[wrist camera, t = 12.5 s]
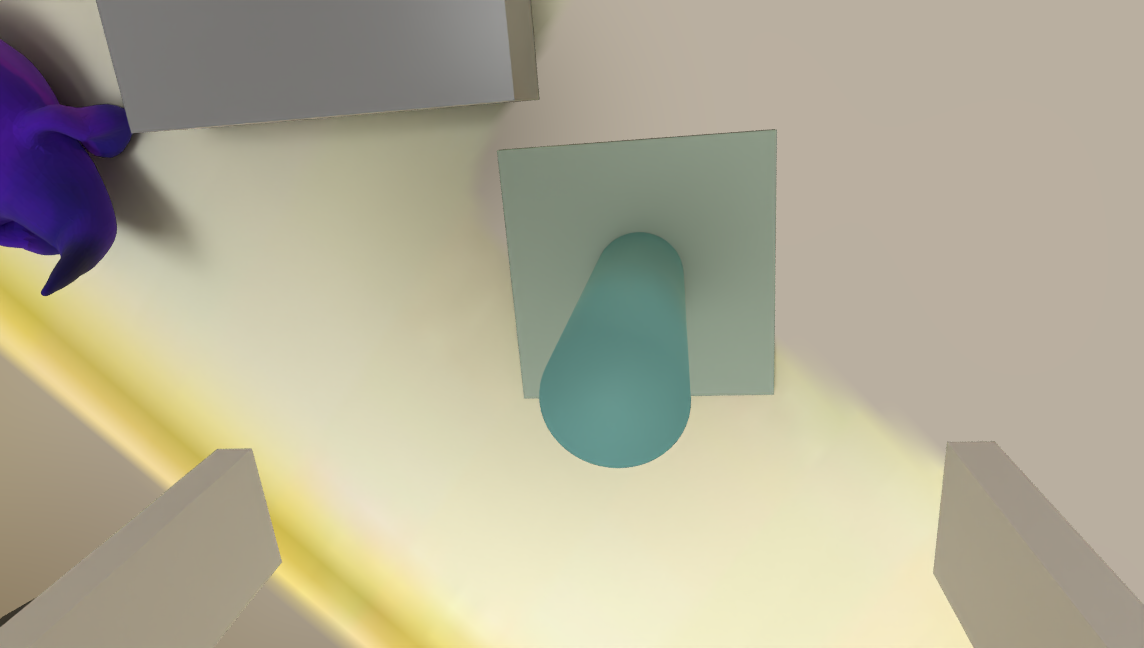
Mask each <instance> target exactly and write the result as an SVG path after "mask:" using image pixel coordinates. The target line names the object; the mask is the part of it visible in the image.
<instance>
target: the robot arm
mask: <svg viewBox="0 0 1144 648" xmlns="http://www.w3.org/2000/svg"><path fill="white" fill-rule="evenodd" d="M281 562H282V561H281V557H280V553H279V549H278V546H277V542H276V538H275V534H274V530H273V527H272V523H271V519H270V515H269V511H268V508H267V504H266V500H265V496H264V492H263V489H262V485H261V481H260V477H259V474H258V470H257V466H256V462H255V458H254V455H253V451H252V449H217V450H215V451H214V452H213V453H212V454H211V455H209V456H208V457H207V458H206V459H204V460H203V461H202V462H201V463H200V464H198V465H197V466H196V467H195V468H194V469H192V470H191V471H190V472H189V473H187V474H186V475H185V476H184V477H183V478H181V479H180V480H179V481H178V482H176V483H175V484H174V485H173V486H172V487H170V488H169V489H168V490H167V491H166V492H164V493H163V494H162V495H161V496H159V497H158V498H157V499H156V500H155V501H153V502H152V503H151V504H150V505H148V506H147V507H146V508H145V509H144V510H142V511H141V512H140V513H139V514H138V515H136V516H135V517H134V518H133V519H131V520H130V521H129V522H128V523H127V524H125V525H124V526H123V527H122V528H121V529H119V530H118V531H117V532H116V533H114V535H112V536H111V537H110V538H108V539H107V540H106V541H105V542H103V544H101V545H100V546H99V547H98V548H96V549H95V550H94V551H93V552H91V553H90V554H89V555H88V556H86V557H85V558H84V559H83V560H82V561H80V562H79V563H78V564H77V565H76V566H74V567H73V568H72V569H71V570H69V571H68V572H67V573H66V574H65V575H64V576H62V577H61V578H60V579H58V580H57V581H56V582H55V583H54V584H52V585H51V586H50V587H49V588H47V589H46V590H45V591H44V592H43V593H41V594H40V595H39V596H38V597H36V598H35V599H33V600H31V601H29V602H28V603H26V604H24V605H22V606H21V607H19V608H17V609H16V610H14V611H12V612H10V613H8V614H7V615H5V616H3V617H2V618H1V619H0V648H214V647H215V645H216V644H217V642H219V640H220V639H221V638H222V636H223V635H224V634H225V633H226V632H227V630H228V629H229V628H230V626H231V625H232V624H233V623H234V621H235V620H236V619H237V618H238V616H239V615H240V614H241V613H242V611H243V610H244V609H245V607H246V606H247V605H248V604H249V603H250V601H251V600H252V599H253V598H254V596H255V595H256V594H257V593H258V591H259V590H260V589H261V588H262V586H263V585H264V584H265V583H266V581H267V580H268V579H269V578H270V576H271V575H272V574H273V573H274V571H275V570H276V569H277V568H278V566H279V565H280V564H281ZM933 574H934V575H935V577H936V579H937V581H938V583H939V585H940V586H941V588H942V590H943V592H944V594H945V596H946V598H947V599H948V601H949V603H950V605H951V607H952V609H953V610H954V612H955V614H956V616H957V618H958V620H959V621H960V623H961V625H962V627H963V629H964V631H965V632H966V634H967V636H968V638H969V640H970V642H971V643H972V645H973V647H974V648H1144V604H1143V603H1142V602H1141V601H1140V600H1139V599H1138V598H1137V597H1136V596H1135V594H1134V593H1133V592H1132V591H1131V590H1130V589H1129V588H1128V587H1127V586H1126V585H1125V583H1123V581H1122V580H1121V579H1120V578H1119V577H1118V576H1117V575H1116V574H1115V573H1114V571H1113V570H1112V569H1111V568H1110V567H1109V566H1108V565H1107V564H1106V563H1105V562H1104V560H1103V559H1102V558H1101V557H1100V556H1099V555H1098V554H1097V553H1096V552H1095V551H1094V549H1093V548H1092V547H1091V546H1090V545H1089V544H1088V543H1087V542H1086V541H1085V540H1084V539H1083V537H1082V536H1081V535H1080V534H1079V533H1078V532H1077V531H1076V530H1075V529H1074V528H1073V527H1072V525H1071V524H1070V523H1069V522H1068V521H1067V520H1066V519H1065V518H1064V517H1063V516H1062V515H1061V513H1060V512H1059V511H1058V510H1057V509H1056V508H1055V507H1054V506H1053V505H1052V504H1051V503H1050V502H1049V500H1048V499H1047V498H1046V497H1045V496H1044V495H1043V494H1042V493H1041V492H1040V490H1039V489H1038V488H1037V487H1036V486H1035V485H1034V484H1033V483H1032V482H1031V481H1030V480H1029V478H1028V477H1027V476H1026V475H1025V474H1024V473H1023V472H1022V471H1021V470H1020V469H1019V468H1018V466H1017V465H1016V464H1015V463H1014V462H1013V461H1012V460H1011V459H1010V458H1009V456H1008V455H1007V454H1006V453H1005V452H1004V451H1003V450H1002V449H1001V448H1000V447H999V446H998V444H996V442H994V441H990V442H989V441H988V442H987V441H980V442H947V447H946V456H945V466H944V475H943V485H942V494H941V503H940V513H939V522H938V531H937V541H936V550H935V560H934V569H933Z"/></svg>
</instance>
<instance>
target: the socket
mask: <svg viewBox="0 0 1144 648" xmlns="http://www.w3.org/2000/svg"><path fill="white" fill-rule="evenodd" d="M96 3H97V6H98V10H99V14H100V18H101V21H102V25H103V29H104V33H105V36H106V40H107V44H108V48H109V51H110V55H111V59H112V63H113V66H114V70H115V74H116V78H117V81H118V85H119V89H120V93H121V96H122V100H123V104H124V108H125V111H126V115H127V119H128V123H129V126H130V130H131V133H143V132H157V131H171V130H186V129H200V128H213V127H225V126H237V125H248V124H260V123H272V122H283V121H295V120H307V119H318V118H330V117H342V116H354V115H365V114H377V113H389V112H400V111H412V110H424V109H435V108H447V107H459V106H470V105H482V104H494V103H505V102H517V101H528V100H539V89H538V78H537V67H536V55H535V44H534V33H533V22H532V11H531V0H96Z"/></svg>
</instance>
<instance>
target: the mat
mask: <svg viewBox="0 0 1144 648" xmlns="http://www.w3.org/2000/svg"><path fill="white" fill-rule="evenodd" d="M776 145H777V130H775V129H772V130H759V131H745V132H733V133H732V132H731V133H718V134H704V135H692V136H678V137H665V138H651V139H638V140H624V141H611V142H597V143H584V144H571V145H558V146H544V147H530V148H517V149H503V150H498V151H497V154H498V164H499V173H500V182H501V190H502V200H503V209H504V218H505V227H506V236H507V245H508V255H509V264H510V273H511V282H512V291H513V300H514V309H515V318H516V327H517V336H518V345H519V354H520V363H521V373H522V382H523V391H524V398H539V390H540V382H541V378H542V375H543V372H544V370H545V367H546V365H547V363H548V361H549V359H550V357H551V355H552V353H553V351H554V349H555V347H556V345H557V343H558V341H559V339H560V337H561V335H562V333H563V331H564V329H565V327H566V325H567V322H568V320H569V318H570V316H571V314H572V312H573V310H574V308H575V306H576V304H577V302H578V300H579V298H580V296H581V294H582V292H583V290H584V288H585V286H586V284H587V282H588V280H589V278H590V276H591V274H592V272H593V270H594V268H595V266H596V263H597V261H598V259H599V257H600V255H601V254H602V252H603V251H604V249H605V248H606V247H607V246H608V245H609V244H610V243H611V242H612V241H614V240H615V239H617V238H618V237H620V236H623V235H625V234H629V233H635V232H645V233H650V234H654V235H656V236H659V237H661V238H663V239H664V240H666V241H667V242H668V243H669V244H670V245H671V246H672V247H673V248H674V249H675V250H676V252H677V253H678V255H679V257H680V259H681V262H682V265H683V271H684V287H685V304H686V322H687V339H688V357H689V375H690V392H691V396H714V395H774V334H775V243H776V153H777V151H776V150H777V149H776V148H777V147H776Z"/></svg>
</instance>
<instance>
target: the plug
mask: <svg viewBox="0 0 1144 648" xmlns="http://www.w3.org/2000/svg"><path fill="white" fill-rule="evenodd" d="M539 401H540V407H541V412H542V415H543V418H544V421H545V423H546V425H547V427H548V429H549V430H550V432H551V434H552V435H553V436H554V438H555V439H556V440H557V441H558V442H559V443H560V444H561V445H562V446H563V447H564V448H565V449H566V450H568V451H569V452H570V453H572V454H573V455H575V456H576V457H578V458H580V459H582V460H584V461H586V462H589V463H592V464H595V465H598V466H603V467H609V468H627V467H633V466H638V465H641V464H645V463H647V462H650V461H652V460H654V459H656V458H658V457H659V456H661V455H662V454H664V453H665V452H666V451H667V450H669V449H670V448H671V447H672V446H673V445H674V444H675V443H676V442H677V440H678V439H679V437H680V436H681V434H682V433H683V431H684V429H685V427H686V424H687V421H688V418H689V414H690V408H691V392H690V375H689V357H688V339H687V322H686V304H685V287H684V271H683V265H682V262H681V259H680V257H679V255H678V253H677V252H676V250H675V249H674V248H673V247H672V246H671V245H670V244H669V243H668V242H667V241H666V240H664V239H663V238H661V237H659V236H656V235H654V234H650V233H645V232H635V233H629V234H625V235H623V236H620V237H618V238H617V239H615V240H614V241H612V242H611V243H610V244H609V245H608V246H607V247H606V248H605V249H604V251H603V252H602V254H601V255H600V257H599V259H598V261H597V263H596V266H595V268H594V270H593V272H592V274H591V276H590V278H589V280H588V282H587V284H586V286H585V288H584V290H583V292H582V294H581V296H580V298H579V300H578V302H577V304H576V306H575V308H574V310H573V312H572V314H571V316H570V318H569V320H568V322H567V325H566V327H565V329H564V331H563V333H562V335H561V337H560V339H559V341H558V343H557V345H556V347H555V349H554V351H553V353H552V355H551V357H550V359H549V361H548V363H547V365H546V367H545V370H544V372H543V375H542V378H541V382H540V390H539Z"/></svg>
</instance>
